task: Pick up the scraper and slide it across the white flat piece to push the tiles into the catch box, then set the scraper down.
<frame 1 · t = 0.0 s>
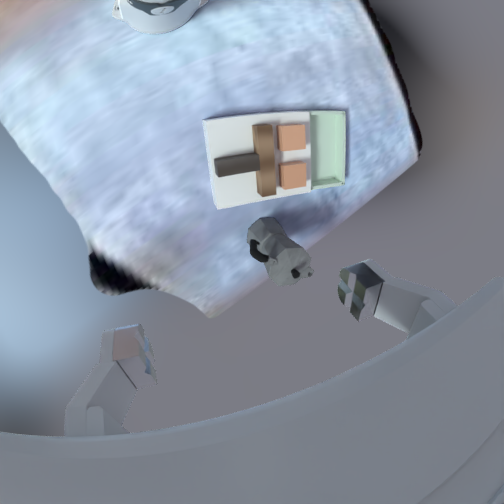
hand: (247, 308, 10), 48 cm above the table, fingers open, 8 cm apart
coffeepot: (260, 232, 66), on the table
catch box: (319, 147, 59), on the table
tile 1: (288, 136, 51), point 4 cm above the table, touching white flat piece
white flat piece: (256, 154, 56), on the table
tile 2: (290, 173, 56), point 4 cm above the table, touching white flat piece
scraper: (261, 158, 52), point 4 cm above the table, touching white flat piece
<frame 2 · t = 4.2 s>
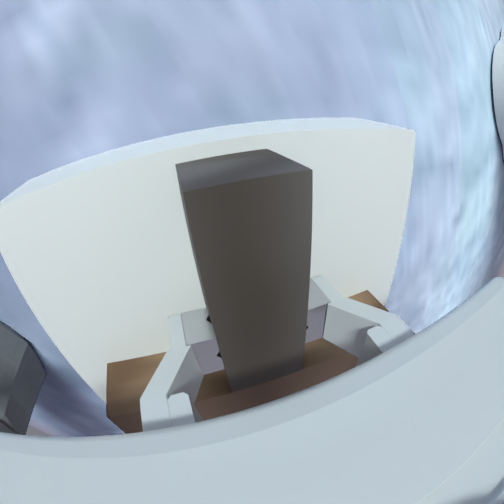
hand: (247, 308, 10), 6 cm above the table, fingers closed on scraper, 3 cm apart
white flat piece: (227, 302, 17), on the table
scraper: (248, 350, 13), point 4 cm above the table, touching white flat piece, gripper
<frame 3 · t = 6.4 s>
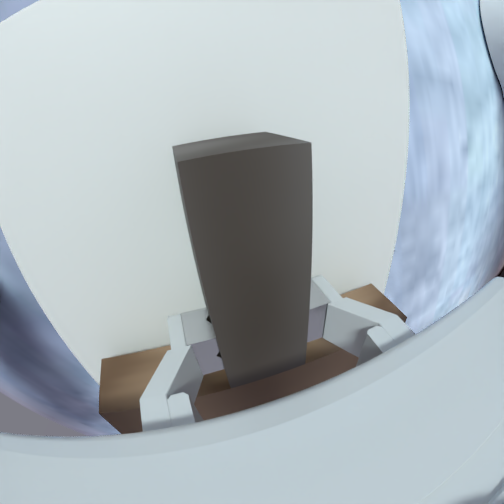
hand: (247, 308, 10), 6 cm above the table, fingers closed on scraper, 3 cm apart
white flat piece: (209, 191, 14), on the table
scraper: (248, 346, 13), point 5 cm above the table, touching gripper, tile 1, tile 2
when the fingers open (6 cm above the table, at t = 9.7 s): scraper stays where it is, resting on white flat piece.
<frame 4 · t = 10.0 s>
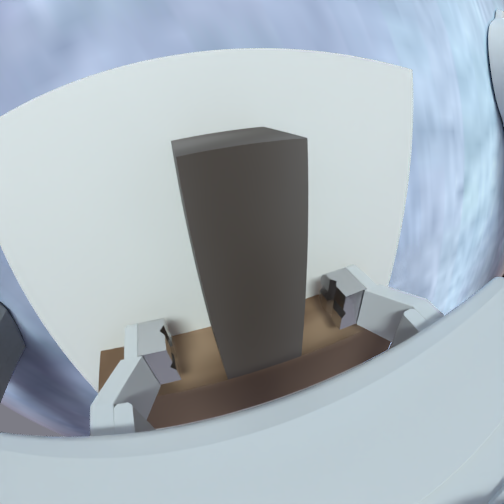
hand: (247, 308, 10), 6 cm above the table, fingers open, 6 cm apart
white flat piece: (219, 261, 16), on the table
scraper: (246, 338, 13), point 4 cm above the table, touching white flat piece
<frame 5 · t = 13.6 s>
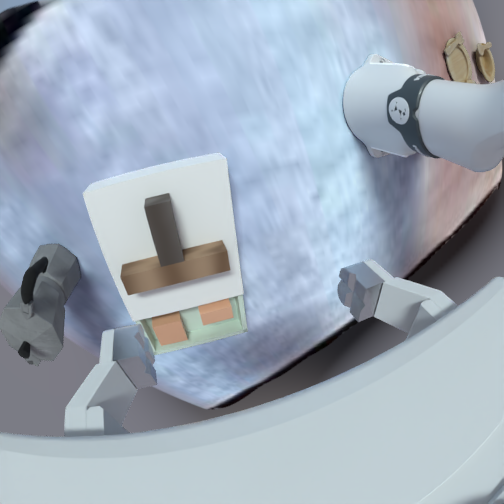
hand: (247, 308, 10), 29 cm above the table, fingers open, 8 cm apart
coffeepot: (57, 261, 35), on the table
catch box: (190, 312, 47), on the table
tile 1: (212, 300, 43), point 3 cm above the table, tilted 90°, touching catch box
white flat piece: (168, 235, 39), on the table
tile 2: (170, 333, 44), point 3 cm above the table, tilted 180°, touching catch box
tableware set: (474, 91, 43), on the table
scraper: (173, 261, 36), point 4 cm above the table, touching white flat piece
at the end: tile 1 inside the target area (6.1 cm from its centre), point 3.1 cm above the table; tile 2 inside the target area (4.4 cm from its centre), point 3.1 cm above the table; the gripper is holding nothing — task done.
